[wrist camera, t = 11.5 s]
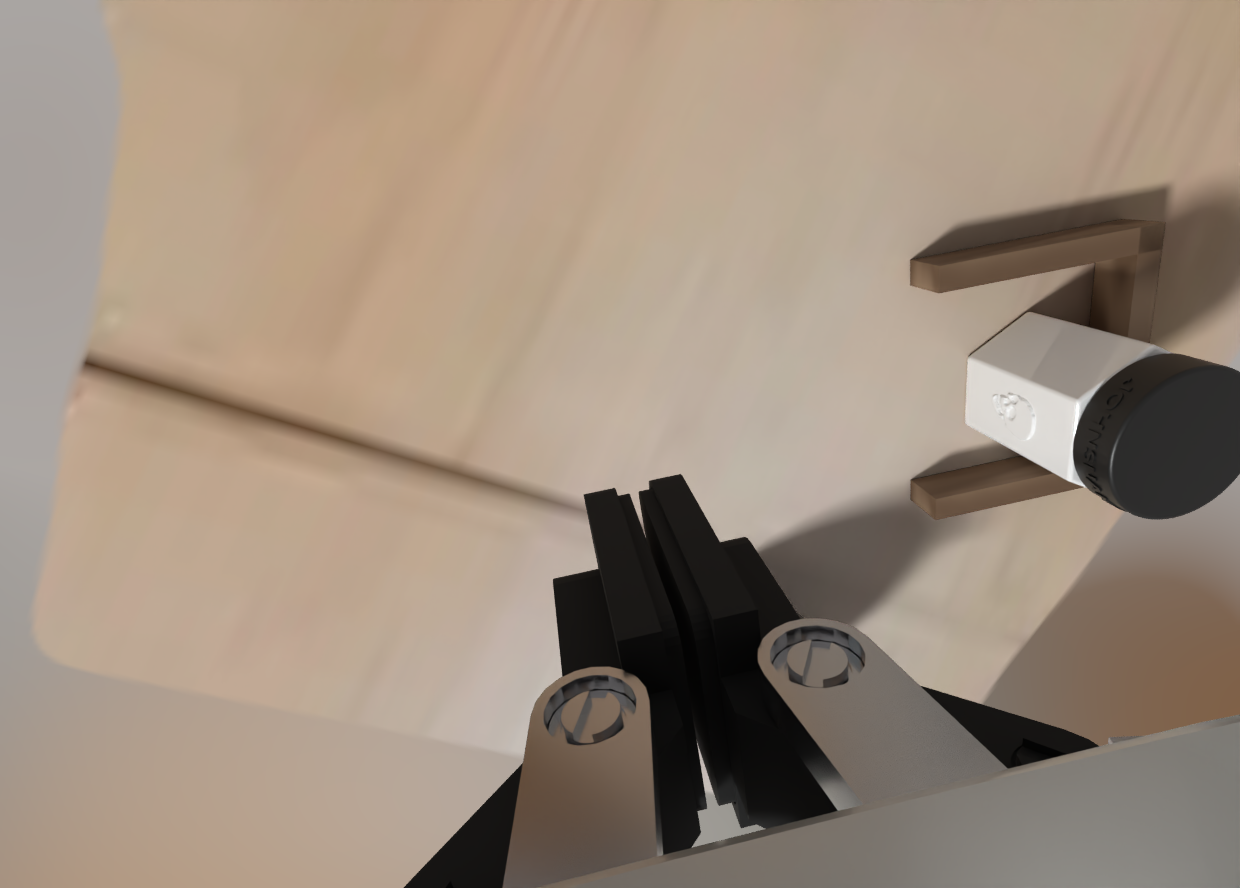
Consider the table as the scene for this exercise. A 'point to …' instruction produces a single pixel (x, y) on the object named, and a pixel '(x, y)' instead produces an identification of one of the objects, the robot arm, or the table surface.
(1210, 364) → the jar
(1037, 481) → the walnut bay
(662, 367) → the table surface
